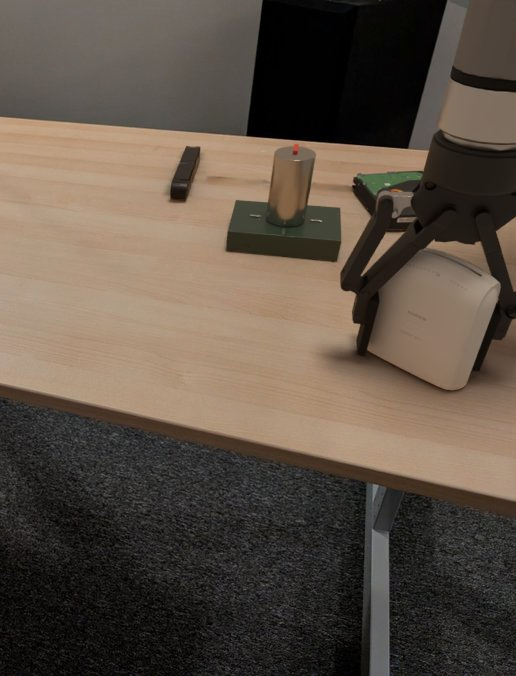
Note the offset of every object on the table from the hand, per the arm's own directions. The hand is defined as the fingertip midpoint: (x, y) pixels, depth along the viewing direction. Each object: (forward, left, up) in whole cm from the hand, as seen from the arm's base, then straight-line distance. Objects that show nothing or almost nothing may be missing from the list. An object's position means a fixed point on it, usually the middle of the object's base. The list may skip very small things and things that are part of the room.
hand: (415, 355), depth 65 cm
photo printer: (0, 0, -1) cm, 1 cm away
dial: (+14, -25, +2) cm, 29 cm away
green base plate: (+14, -25, -1) cm, 29 cm away
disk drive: (-2, -38, -1) cm, 38 cm away
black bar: (+30, -43, -1) cm, 53 cm away
